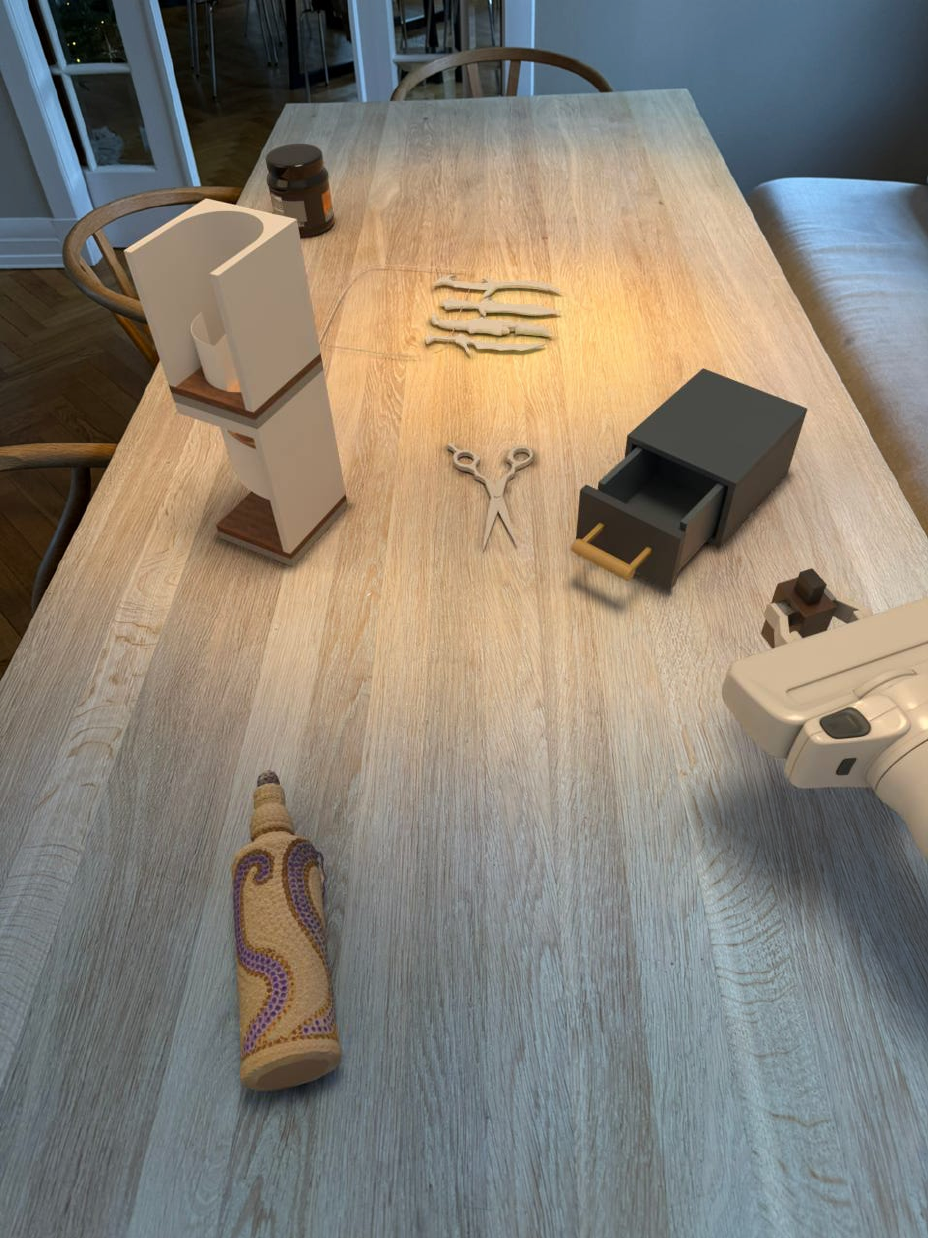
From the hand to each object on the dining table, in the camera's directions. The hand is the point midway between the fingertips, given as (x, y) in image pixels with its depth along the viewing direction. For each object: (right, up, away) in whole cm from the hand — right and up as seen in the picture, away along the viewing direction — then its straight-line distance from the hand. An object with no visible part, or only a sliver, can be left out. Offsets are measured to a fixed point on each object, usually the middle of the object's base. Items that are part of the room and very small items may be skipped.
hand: (795, 599), depth 73 cm
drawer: (-7, +7, +27) cm, 29 cm away
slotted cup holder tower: (-49, +10, +32) cm, 60 cm away
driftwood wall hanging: (-30, +45, +62) cm, 82 cm away
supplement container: (-56, +68, +83) cm, 121 cm away
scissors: (-24, +13, +34) cm, 44 cm away
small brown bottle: (+1, -4, +3) cm, 5 cm away
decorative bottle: (-41, -28, 0) cm, 50 cm away
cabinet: (+2, +14, +34) cm, 37 cm away
